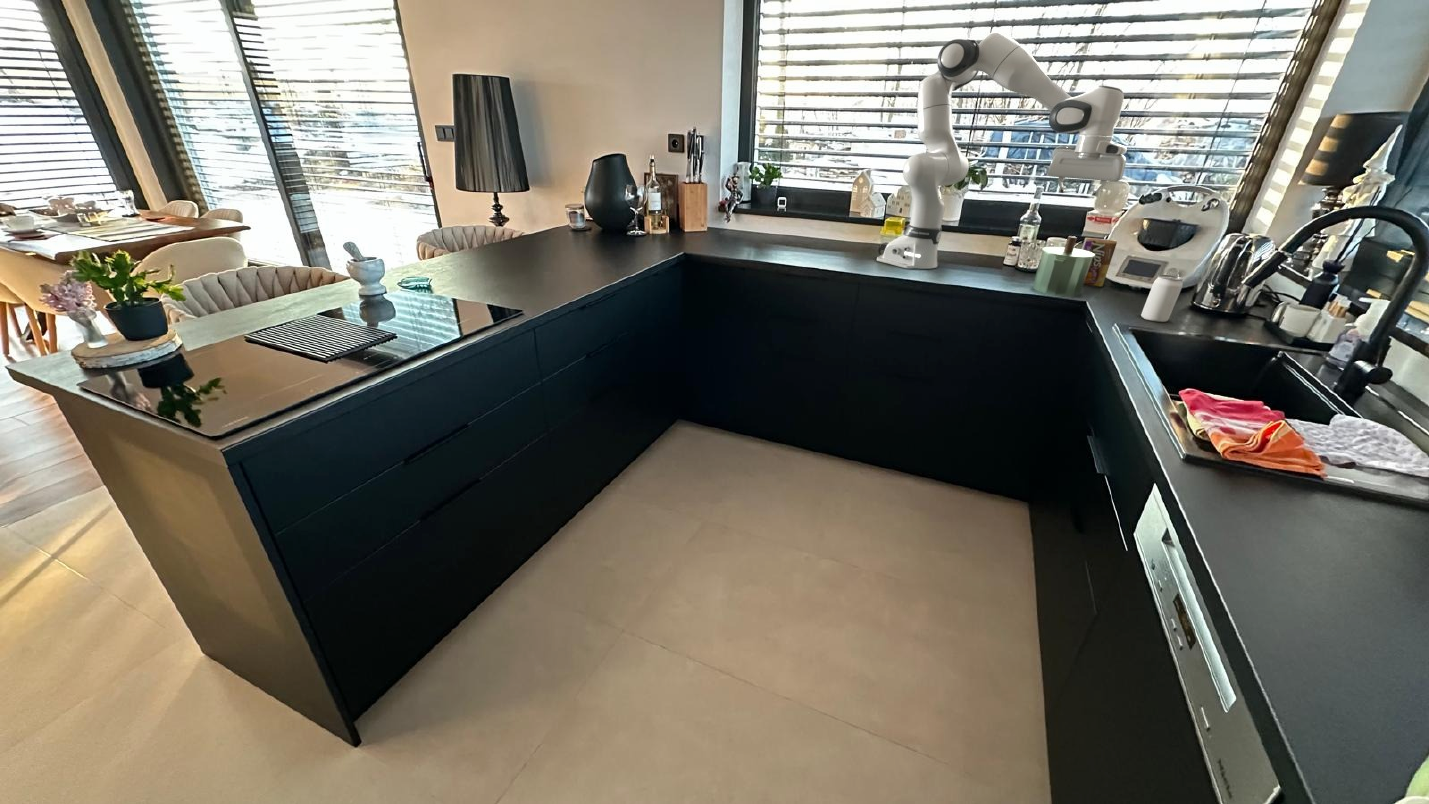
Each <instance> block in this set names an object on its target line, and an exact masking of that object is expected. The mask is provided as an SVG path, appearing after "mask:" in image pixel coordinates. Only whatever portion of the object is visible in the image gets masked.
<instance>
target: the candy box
mask: <svg viewBox="0 0 1429 804" xmlns="http://www.w3.org/2000/svg"><path fill="white" fill-rule="evenodd" d="M1117 244H1118V241H1117V239H1107V238H1096V237H1084V241H1083V244H1082V247H1081V250H1086V251H1089V252H1092V253H1094V254H1095V256H1094V258H1092V261H1091V264H1090V267H1089V270H1088V273H1087V276H1086V279H1085V282H1084V285H1086V286H1095V287H1103V286H1104V282H1105V279H1106V277H1107V274H1108V271H1109V268H1110V265H1111V262H1112V260H1113V256H1114V254H1115V250H1116V246H1117Z"/></svg>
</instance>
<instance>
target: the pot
mask: <svg viewBox="0 0 1429 804" xmlns="http://www.w3.org/2000/svg"><path fill="white" fill-rule="evenodd" d="M1091 261H1092V258H1090V259H1074V258H1065V257H1058V256H1053V255H1049V254H1046V253H1044V252H1042V253H1041V256H1040V260H1039V263H1038V266H1037V270H1036V273H1035V276H1034V279H1033V284H1032V289H1033V290H1034V291H1037V292H1039V293H1043V294H1046V295H1051V296H1057V297H1067V298H1068V297H1069V298H1071V297H1078V296H1079V295H1081V293H1082V290H1083V287H1084V285H1085V284H1084V282H1085V279H1086V276H1087V273H1088V270H1089V267H1090V264H1091Z"/></svg>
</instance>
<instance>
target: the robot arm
mask: <svg viewBox="0 0 1429 804" xmlns="http://www.w3.org/2000/svg"><path fill="white" fill-rule="evenodd" d="M936 61H937V62H936V63H937V68H938V70H937V71H936V72H935V73H933V74H929V75H928V76H926V77H925V78H923V80H921V82H920V83H919V87H918V93H917V94H918V95H917V104H916V107H917V108H916V116H917V137H918V139H919V141H920V142H921V143H923V144H924V146H925V147H926V149H927V151H928V152H920V153H917V154H914V155H911V156H909V157H908V158H907V159H906V161H905V162H904V165H903V169H902V176H903V179H904V181H905V183H906V184H907V185H908V187H909V190H910V192H911V199H912V207H911V214H910V220H909V223H908V224H907V225H904V226H902V229H901V231H903V233H902V234H901V235H900V236H897V237H896V238H895V239H893V240H892V241H889V242H887V241H885V242H882V243H880V246H878V249H877V253H878V256H877V257H876V261H877V262H881V263H884V264H888V265H892V266H896V267H899V268H902V269H903V268H904V269H908V270H909V269H910V270H912V269H921V270H924V269H925V270H928V269H935V268H938V266H939V264H938V248H939V244H940V241H941V237H942V231H943V228H942V224H943V219H944V215H945V209H946V205H945V202H944V201H943V200H942V199H941V197H940V193H939V187H945V186H952V185H955V184H958V183H960V182H963V180H964V179H965V178H966V177H967V175H968V172H969V168H970V164H969V160H968V158H967V156H965V155H964V154H963V152H962V151H961V150H960V148H959V146H958V143H957V140H956V138H955V134H954V128H953V110H952V109H953V108H952V107H953V106H952V93H953V92H954V91H957V90H959V89H961V88H962V87H964V86H966V85H968V84H969V83H971V82H973V81H974V80H975V79H976V77H977V76H978V74H979V72H982V73H984V74H986V75H987V76H988V77H989V78H991V80H993V81H994V82H995V83H996V84H998V85H999V86H1001V87H1002V88H1003V89H1006V90H1008V91H1010V92H1013V93H1017V94H1021V95H1024V96H1025V95H1026V96H1027V97H1030V98H1032V99H1034V100H1036V101H1037V102H1038V103H1039V104H1040V105H1042V106H1043V107H1044V108H1045V109H1046V110H1048V111H1049V112H1050V113H1049V116H1048V124H1049V127H1050V129H1052V130H1053V131H1054V132H1056V133H1057V134H1058V133H1059V134H1067V135H1070V136H1071V135H1072V136H1073V135H1078V138H1077V141H1076V144H1075V145H1065V144H1061V145H1059V146H1057V147H1055V148H1054V149H1053V151H1052V156H1051V159H1052V160H1051V162H1050V164H1049V167H1048V170H1047V175H1048V177H1052V178H1057V183H1058V186H1059V189H1058V194H1065V193H1066V189H1067V186H1064V183H1063V182H1064V181H1066V179H1079V180H1090V181H1099V187H1098V188H1097V189H1092V193H1091V196H1092V197H1098V196H1099V194H1100V191H1101V190H1102V189H1103V188H1104V187H1106V185H1107V183H1108V182H1119V181H1120V180H1122V178H1123V177H1124V173H1125V169H1126V165H1127V164H1126V163H1127V160H1126V159H1127V158H1126V156H1125V155H1124V154H1126V153H1127V150H1128V148H1127V146H1125V145H1123V144H1120V143H1118V142H1115V141H1113V138H1114V128H1115V126H1116V124H1117V123H1118V121H1119V119H1120V116H1121V112H1122V109H1123V105H1124V104H1123V103H1124V99H1125V97H1124V96H1125V94H1124V92H1123V90H1122V89H1121V88H1119V87H1114V86H1109V85H1104V84H1103V85H1102V84H1101V85H1097V86H1095V87H1093V89H1091V90H1088V91H1086V92H1084V93H1081V94H1080V95H1076V96H1073V95H1070V94H1069V93H1068V92H1067V91H1066V90H1064V89H1063V88H1062V87H1060V86H1059V85H1058V84H1056V83H1055V82H1054V81H1053V80H1052V79H1051V78H1050V77H1049V76H1048V75H1047V74H1046V72H1045V71H1044V70H1043V68H1042V67H1041V66H1040V65H1039V63H1038V62H1037V60H1036V59H1035V58H1034V57H1033V55H1032V54H1031V53H1030V52H1029V51H1028V50H1027V49H1026V48H1025V46H1023V45H1022V44H1020V43H1019V42H1018V41H1016V40H1015V39H1013V38H1012V37H1010V36H1008V35H1007V34H1004V33H1002V32H1000V31H994V32H991V33H989V34H988V35H986V36H985V37H984V38H983V39H982V40H981V41H980V42H979V43H978V41H977V40H975V39H964V38H957V39H956V38H955V39H952V40H949V41H948V42H946V43H945V44H944V45H943V46H942V47H941V49H940V50H939V52H938V55H937V59H936ZM882 252H883V254H882Z"/></svg>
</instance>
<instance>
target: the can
mask: <svg viewBox="0 0 1429 804" xmlns="http://www.w3.org/2000/svg"><path fill="white" fill-rule="evenodd" d="M1183 281H1184V278H1183V277H1180V276H1176V275H1170V274H1158V275H1157V278H1156V279H1155V280H1154V281H1153V284H1152V286H1151V288H1150V291H1149V294H1148V296H1147V298H1146V301H1145V304H1144V306H1143V309H1142V311H1141V314H1140V316H1141V318H1142V319H1144V320H1147V321H1150V322H1154V323H1155V322H1156V323H1166V322H1168V321H1169V319H1170V317H1171V315H1172V312H1173V310H1174V308H1175V306H1176V303H1177V301H1178V298H1179V296H1180V294H1181V291H1182V288H1183V285H1184V284H1183V283H1184V282H1183Z"/></svg>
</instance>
